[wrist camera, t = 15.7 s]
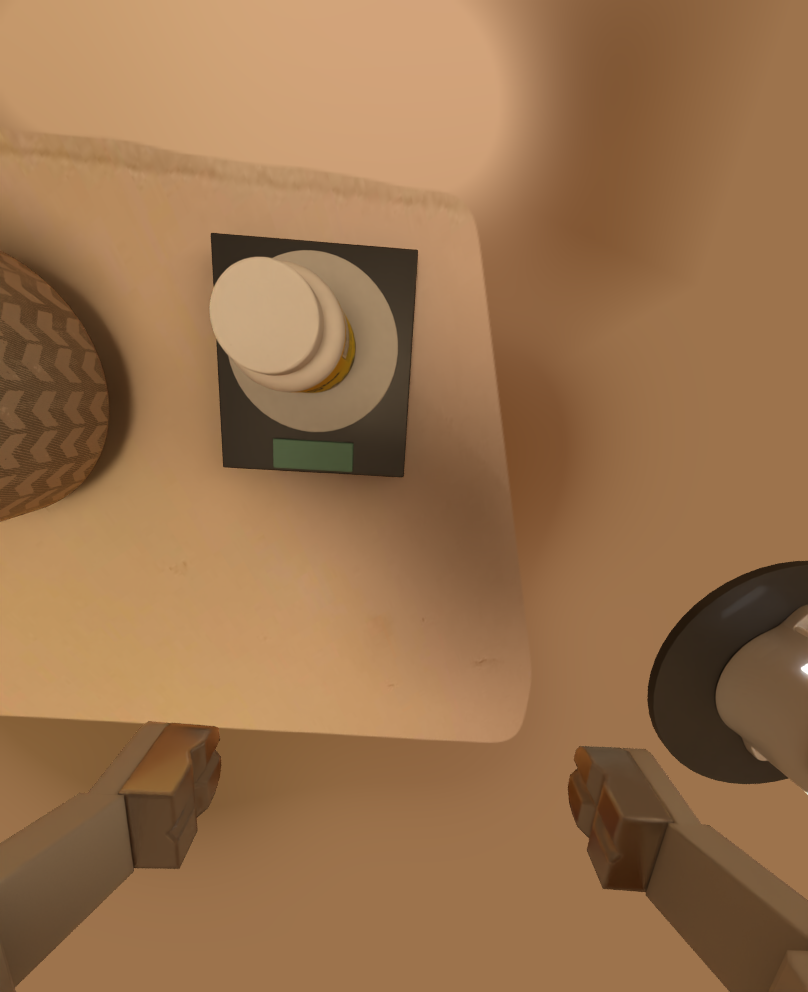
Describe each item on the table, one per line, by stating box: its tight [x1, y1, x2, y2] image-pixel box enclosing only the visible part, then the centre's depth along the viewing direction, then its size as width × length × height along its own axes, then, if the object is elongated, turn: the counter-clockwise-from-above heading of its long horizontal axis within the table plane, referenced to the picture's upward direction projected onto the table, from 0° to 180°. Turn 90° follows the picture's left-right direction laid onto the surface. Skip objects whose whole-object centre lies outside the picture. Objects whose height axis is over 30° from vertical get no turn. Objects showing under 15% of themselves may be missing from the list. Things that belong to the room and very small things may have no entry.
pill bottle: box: [209, 257, 356, 393], centre depth 22 cm, size 6×6×11 cm
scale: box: [211, 233, 418, 477], centre depth 29 cm, size 14×16×3 cm
